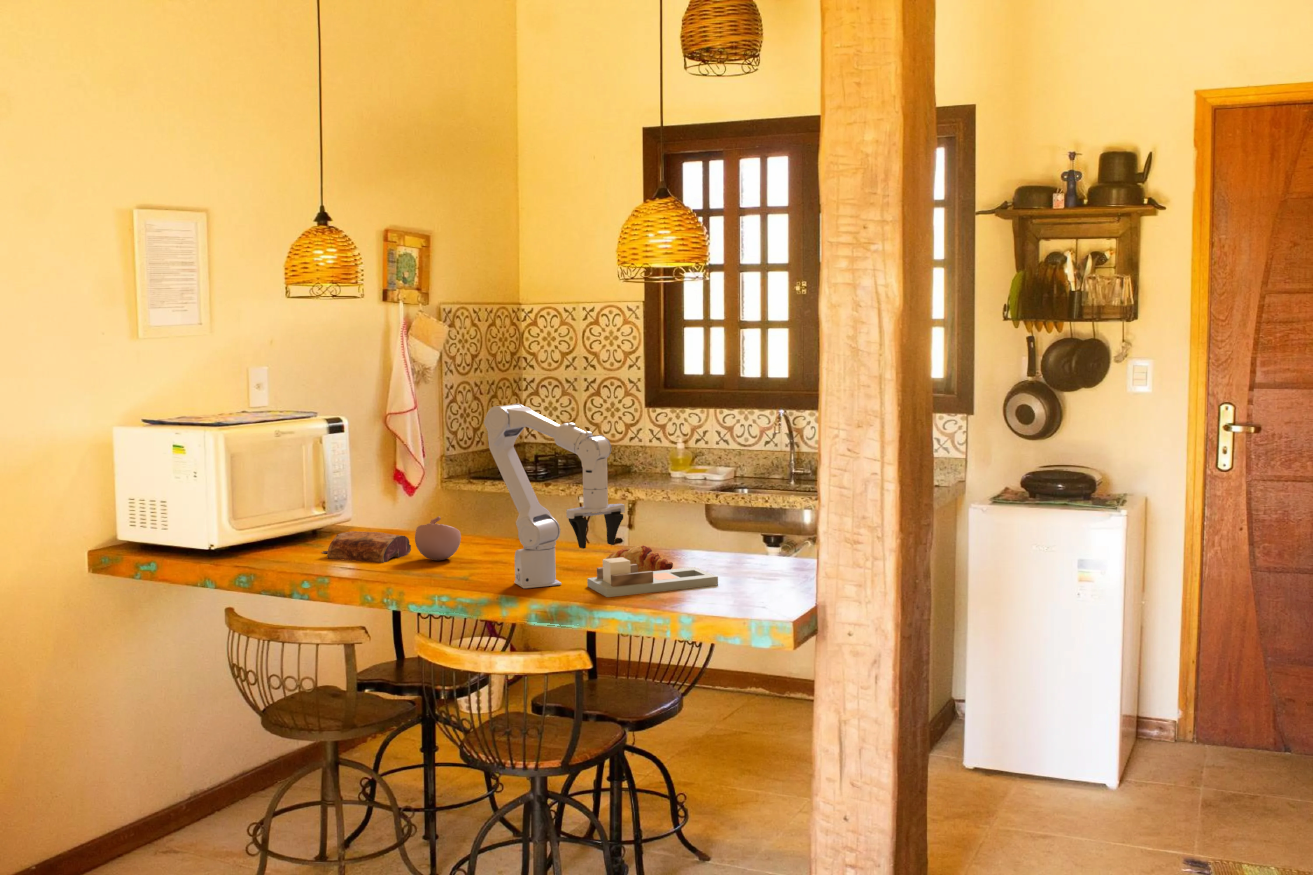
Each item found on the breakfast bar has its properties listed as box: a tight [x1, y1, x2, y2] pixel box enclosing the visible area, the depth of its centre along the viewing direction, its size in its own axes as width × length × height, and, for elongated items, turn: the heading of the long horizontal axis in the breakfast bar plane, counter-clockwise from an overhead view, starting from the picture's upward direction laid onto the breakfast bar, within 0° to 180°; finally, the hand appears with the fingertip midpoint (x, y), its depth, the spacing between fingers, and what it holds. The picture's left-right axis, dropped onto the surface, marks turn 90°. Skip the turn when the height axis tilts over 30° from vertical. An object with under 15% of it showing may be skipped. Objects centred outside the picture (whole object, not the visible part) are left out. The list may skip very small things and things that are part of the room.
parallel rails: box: [596, 564, 653, 587], centre depth 299 cm, size 10×11×2 cm
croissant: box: [604, 544, 674, 572], centre depth 320 cm, size 21×10×8 cm, turn 54°
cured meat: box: [321, 530, 412, 564], centre depth 349 cm, size 18×25×7 cm
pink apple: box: [414, 516, 462, 561], centre depth 339 cm, size 12×12×11 cm
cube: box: [602, 557, 631, 584], centre depth 298 cm, size 5×5×5 cm
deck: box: [586, 566, 719, 598], centre depth 302 cm, size 28×13×2 cm, turn 113°
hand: (596, 545), depth 298 cm, fingers open, 7 cm apart
